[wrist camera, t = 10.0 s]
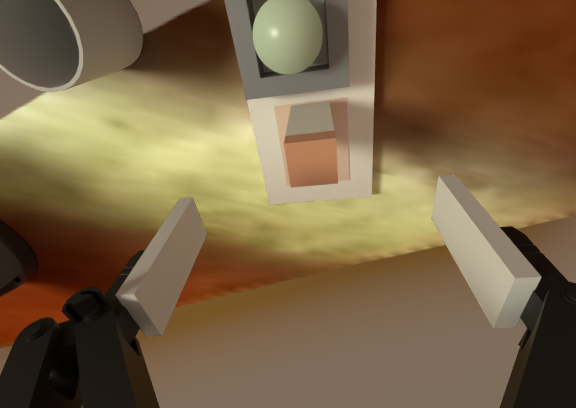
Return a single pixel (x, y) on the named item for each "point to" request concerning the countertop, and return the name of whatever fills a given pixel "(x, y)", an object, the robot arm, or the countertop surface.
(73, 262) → the countertop surface
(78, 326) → the robot arm
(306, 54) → the button
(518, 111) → the countertop surface
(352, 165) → the board
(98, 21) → the cup
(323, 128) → the grey and orange block
